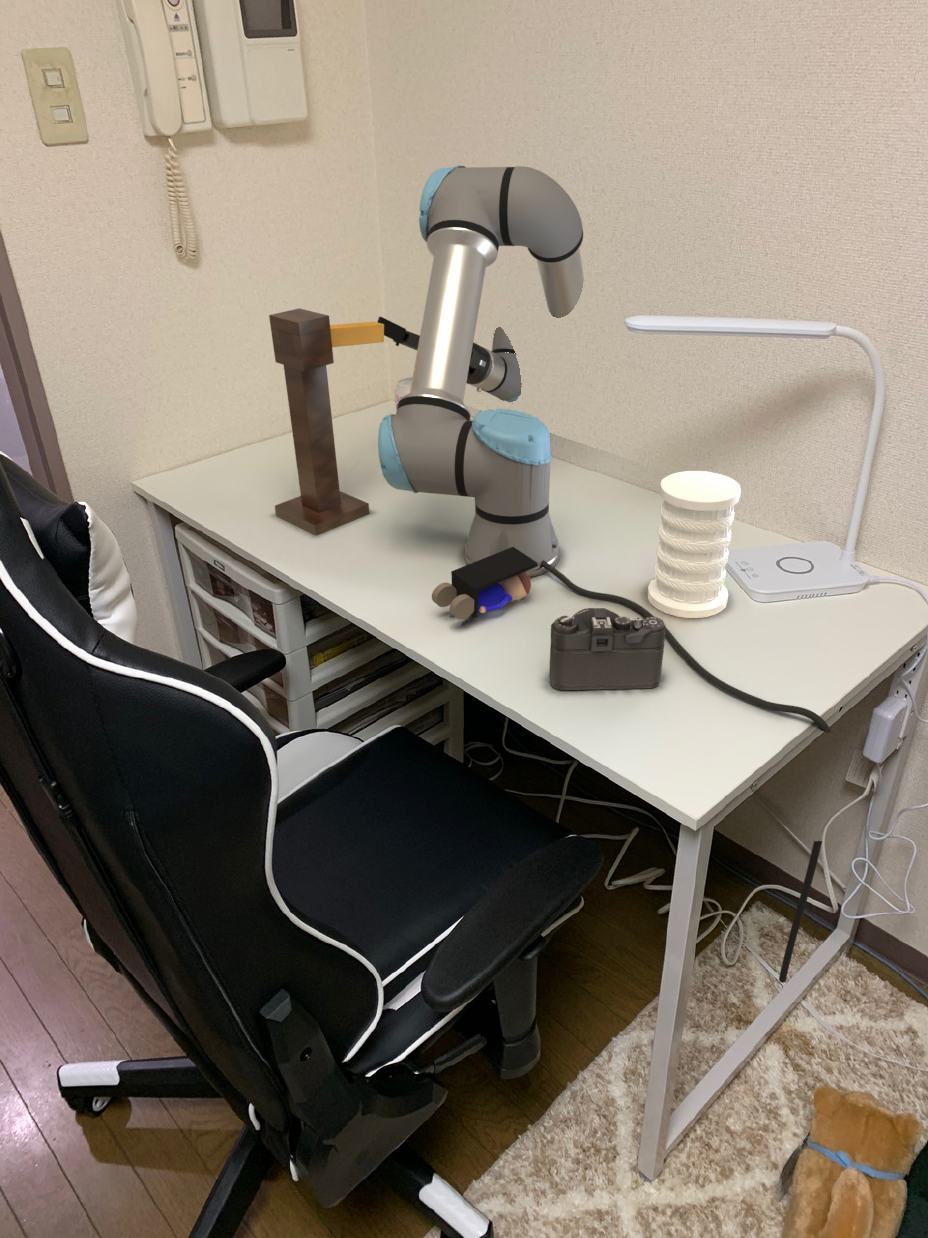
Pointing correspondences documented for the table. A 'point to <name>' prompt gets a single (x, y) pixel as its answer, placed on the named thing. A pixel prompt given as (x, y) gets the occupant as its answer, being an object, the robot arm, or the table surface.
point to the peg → (356, 333)
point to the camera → (605, 651)
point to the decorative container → (693, 543)
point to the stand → (311, 422)
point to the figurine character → (486, 584)
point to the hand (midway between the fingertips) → (402, 329)
